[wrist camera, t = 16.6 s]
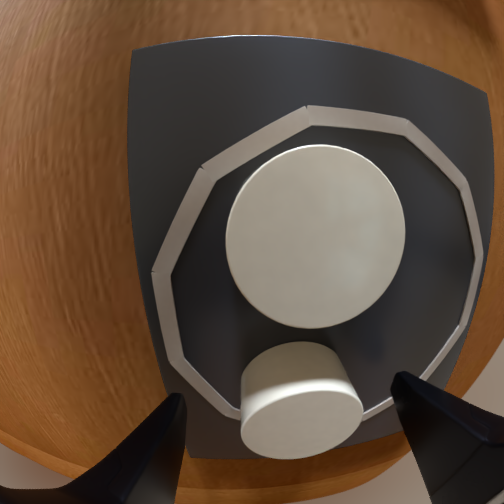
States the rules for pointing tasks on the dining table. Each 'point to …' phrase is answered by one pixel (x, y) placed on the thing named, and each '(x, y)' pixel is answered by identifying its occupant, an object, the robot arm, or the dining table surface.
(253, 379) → the cream round box
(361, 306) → the white round puck
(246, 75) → the slate
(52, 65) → the dining table surface
